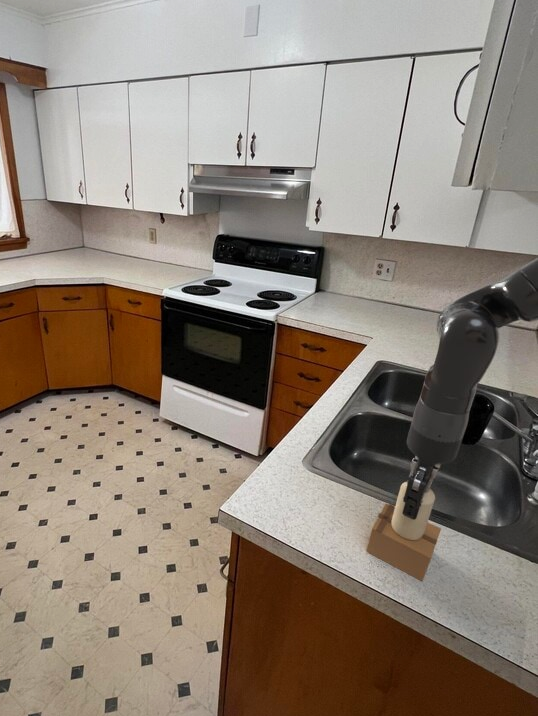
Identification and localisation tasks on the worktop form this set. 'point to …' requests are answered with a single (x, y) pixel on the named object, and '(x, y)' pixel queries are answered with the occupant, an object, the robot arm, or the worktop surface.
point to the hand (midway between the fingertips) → (414, 505)
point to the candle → (407, 525)
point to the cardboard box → (402, 545)
